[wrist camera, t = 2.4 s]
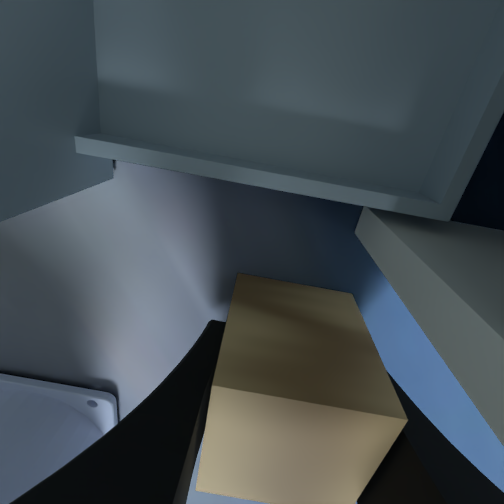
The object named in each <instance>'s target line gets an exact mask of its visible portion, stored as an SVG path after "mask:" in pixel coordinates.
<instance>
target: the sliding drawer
mask: <svg viewBox="0 0 504 504" xmlns="http://www.w3.org/2000/svg"><path fill="white" fill-rule="evenodd" d="M503 112H504V0H0V222H1V221H3V220H6V219H9V218H11V217H14V216H16V215H19V214H22V213H24V212H27V211H29V210H32V209H35V208H37V207H40V206H42V205H45V204H48V203H50V202H53V201H55V200H58V199H61V198H63V197H66V196H68V195H71V194H74V193H76V192H79V191H81V190H84V189H87V188H89V187H92V186H94V185H97V184H100V183H102V182H105V181H107V180H110V179H113V160H118V161H124V162H129V163H134V164H140V165H145V166H151V167H156V168H161V169H167V170H172V171H177V172H183V173H188V174H194V175H199V176H204V177H210V178H215V179H220V180H226V181H231V182H237V183H242V184H247V185H253V186H258V187H263V188H269V189H274V190H280V191H285V192H290V193H296V194H301V195H306V196H312V197H317V198H323V199H328V200H333V201H339V202H344V203H350V204H355V205H360V206H366V207H371V208H376V209H382V210H387V211H393V212H398V213H403V214H409V215H414V216H419V217H425V218H430V219H436V220H441V221H446V222H449V220H450V218H451V216H452V214H453V212H454V210H455V208H456V206H457V204H458V202H459V200H460V198H461V196H462V194H463V192H464V190H465V188H466V186H467V184H468V182H469V180H470V178H471V176H472V174H473V172H474V170H475V168H476V166H477V164H478V162H479V160H480V158H481V156H482V154H483V152H484V150H485V148H486V146H487V144H488V142H489V140H490V138H491V136H492V134H493V132H494V130H495V128H496V126H497V124H498V122H499V120H500V118H501V116H502V114H503Z"/></svg>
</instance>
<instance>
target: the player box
mask: <svg viewBox="0 0 504 504" xmlns="http://www.w3.org/2000/svg"><path fill="white" fill-rule="evenodd" d="M354 233H355V234H356V236H357V237H358V239H359V240H360V241H361V243H362V244H363V246H364V247H365V249H366V250H367V251H368V253H369V254H370V256H371V257H372V259H373V260H374V261H375V263H376V264H377V266H378V267H379V269H380V270H381V272H382V273H383V274H384V276H385V277H386V279H387V280H388V282H389V283H390V284H391V286H392V287H393V289H394V290H395V292H396V293H397V294H398V296H399V297H400V299H401V300H402V302H403V303H404V304H405V306H406V307H407V309H408V310H409V312H410V313H411V314H412V316H413V317H414V319H415V320H416V322H417V323H418V324H419V326H420V327H421V329H422V330H423V332H424V333H425V335H426V336H427V337H428V339H429V340H430V342H431V343H432V345H433V346H434V347H435V349H436V350H437V352H438V353H439V355H440V356H441V357H442V359H443V360H444V362H445V363H446V365H447V366H448V367H449V369H450V370H451V372H452V373H453V375H454V376H455V377H456V379H457V380H458V382H459V383H460V385H461V386H462V387H463V389H464V390H465V392H466V393H467V395H468V396H469V398H470V399H471V400H472V402H473V403H474V405H475V406H476V408H477V409H478V410H479V412H480V413H481V415H482V416H483V418H484V419H485V420H486V422H487V423H488V425H489V426H490V428H491V429H492V430H493V432H494V433H495V435H496V436H497V438H498V439H499V440H500V442H501V443H502V445H503V446H504V231H503V230H498V229H492V228H487V227H482V226H476V225H471V224H466V223H460V222H455V221H449V222H446V221H441V220H436V219H430V218H425V217H419V216H414V215H409V214H403V213H398V212H393V211H387V210H382V209H376V208H371V207H366V206H364V207H363V210H362V213H361V215H360V218H359V221H358V224H357V227H356V230H355V232H354Z"/></svg>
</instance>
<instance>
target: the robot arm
mask: <svg viewBox="0 0 504 504" xmlns="http://www.w3.org/2000/svg"><path fill="white" fill-rule="evenodd" d="M225 326H226V322H222V321H216V320H211V321H209V322H208V324H207V326H206V328H205V329H204V331H203V333H202V334H201V336H200V337H199V338H198V340H197V341H196V343H195V344H194V345H193V347H192V348H191V349H190V350H189V352H188V353H187V354H186V355H185V357H184V358H183V359H182V360H181V362H180V363H179V364H178V365H177V366H176V367H175V368H174V369H173V371H172V372H171V373H170V374H169V375H168V376H167V377H166V378H165V379H164V381H163V382H162V383H161V384H160V385H159V386H158V387H157V388H156V389H155V390H154V391H153V392H152V393H151V394H150V395H149V396H148V397H147V398H146V399H145V400H143V401H142V402H141V403H140V404H139V405H138V406H137V407H136V408H135V409H134V410H133V411H132V412H130V413H129V414H128V415H127V416H126V417H125V418H124V419H122V420H121V421H120V422H119V423H118V420H117V402H116V398H115V397H114V396H113V395H112V394H110V393H108V392H103V391H97V390H92V389H86V388H80V387H75V386H69V385H63V384H58V383H52V382H46V381H41V380H35V379H29V378H24V377H18V376H12V375H7V374H1V373H0V504H186V500H187V496H188V491H189V486H190V482H191V477H192V473H193V469H194V465H195V462H196V458H197V454H198V451H199V448H200V444H201V441H202V438H203V434H204V431H205V427H206V420H207V414H208V407H209V401H210V395H211V388H212V383H213V379H214V374H215V370H216V365H217V361H218V357H219V352H220V348H221V344H222V339H223V335H224V331H225ZM387 374H388V376H389V378H390V380H391V383H392V385H393V387H394V389H395V392H396V394H397V396H398V398H399V401H400V403H401V405H402V407H403V410H404V412H405V414H406V416H407V419H408V421H407V423H406V424H405V426H404V427H403V429H402V431H401V432H400V434H399V435H398V437H397V438H396V440H395V441H394V443H393V445H392V446H391V448H390V449H389V451H388V452H387V454H386V456H385V457H384V459H383V460H382V462H381V463H380V465H379V466H378V468H377V470H376V471H375V473H374V474H373V476H372V477H371V479H370V480H369V482H368V484H367V485H366V487H365V488H364V490H363V491H362V493H361V495H360V496H359V498H358V499H357V504H504V493H503V492H502V491H501V490H500V489H499V488H498V487H497V486H495V485H494V484H493V483H492V482H491V481H490V480H489V479H488V478H487V477H486V476H485V475H483V474H482V473H481V472H480V471H479V470H478V469H477V468H476V467H475V466H474V465H473V464H472V463H471V462H470V461H469V460H468V459H467V458H466V457H465V456H464V455H463V454H462V453H461V452H460V451H458V450H457V449H456V448H455V447H454V446H453V445H452V444H451V443H450V442H449V441H448V440H447V438H446V437H445V436H444V435H443V434H442V433H441V432H440V431H439V430H438V429H437V428H436V427H435V426H434V425H433V424H432V423H431V421H430V420H429V419H428V418H427V417H426V416H425V415H424V414H423V413H422V412H421V411H420V409H419V408H418V407H417V406H416V405H415V404H414V403H413V401H412V400H411V399H410V398H409V397H408V396H407V395H406V393H405V392H404V391H403V390H402V389H401V387H400V386H399V385H398V384H397V383H396V381H395V380H394V379H393V378H392V377H391V375H390V374H389V373H388V372H387Z"/></svg>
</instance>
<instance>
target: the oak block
mask: <svg viewBox="0 0 504 504" xmlns="http://www.w3.org/2000/svg"><path fill="white" fill-rule="evenodd" d="M407 421H408V419H407V416H406V414H405V412H404V410H403V407H402V405H401V403H400V401H399V398H398V396H397V394H396V392H395V389H394V387H393V385H392V383H391V380H390V378H389V376H388V374H387V371H386V369H385V367H384V365H383V362H382V360H381V358H380V356H379V353H378V351H377V349H376V347H375V344H374V342H373V340H372V338H371V335H370V333H369V331H368V329H367V326H366V324H365V322H364V320H363V317H362V315H361V313H360V311H359V308H358V306H357V304H356V302H355V299H354V297H353V295H352V294H351V293H346V292H340V291H335V290H329V289H324V288H318V287H313V286H307V285H302V284H296V283H291V282H285V281H280V280H274V279H269V278H263V277H258V276H252V275H247V274H241V273H238V274H237V278H236V283H235V287H234V291H233V296H232V300H231V304H230V309H229V313H228V317H227V322H226V326H225V331H224V335H223V339H222V344H221V348H220V352H219V357H218V361H217V365H216V370H215V374H214V379H213V383H212V388H211V395H210V401H209V407H208V414H207V420H206V427H205V433H204V440H203V446H202V452H201V459H200V465H199V472H198V478H197V484H196V491H201V492H207V493H212V494H218V495H224V496H230V497H236V498H241V499H247V500H253V501H259V502H264V503H270V504H355V502H356V501H357V499H358V498H359V496H360V495H361V493H362V491H363V490H364V488H365V487H366V485H367V484H368V482H369V480H370V479H371V477H372V476H373V474H374V473H375V471H376V470H377V468H378V466H379V465H380V463H381V462H382V460H383V459H384V457H385V456H386V454H387V452H388V451H389V449H390V448H391V446H392V445H393V443H394V441H395V440H396V438H397V437H398V435H399V434H400V432H401V431H402V429H403V427H404V426H405V424H406V423H407Z"/></svg>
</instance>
